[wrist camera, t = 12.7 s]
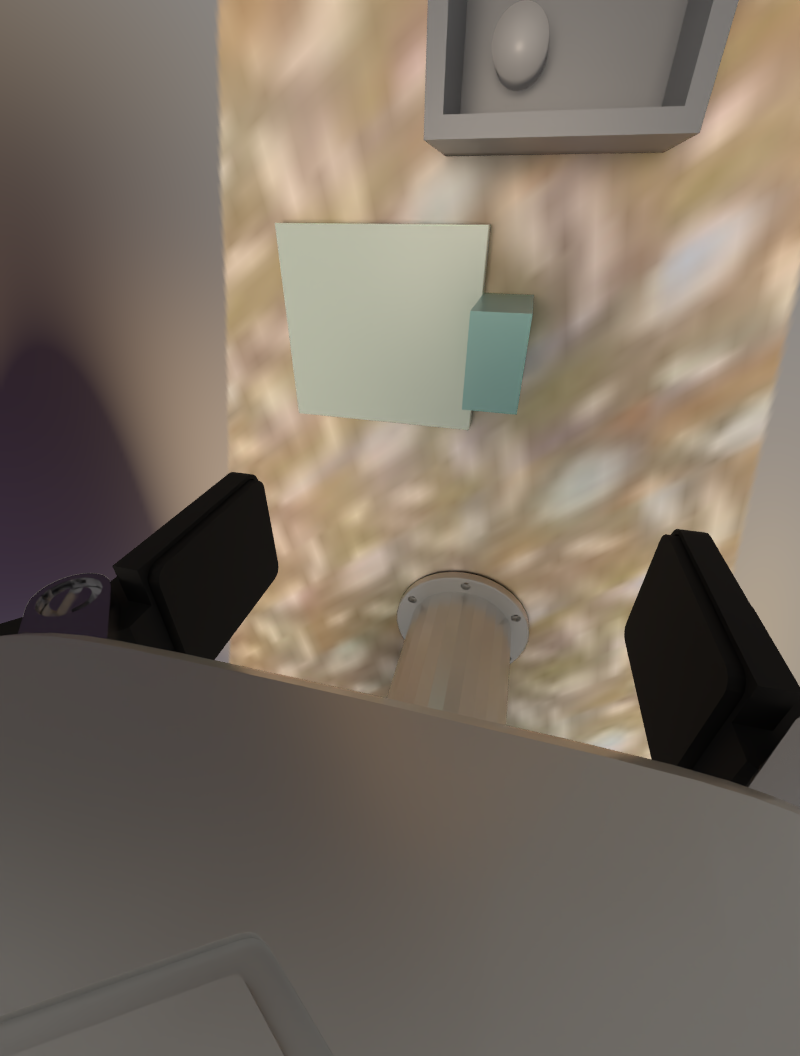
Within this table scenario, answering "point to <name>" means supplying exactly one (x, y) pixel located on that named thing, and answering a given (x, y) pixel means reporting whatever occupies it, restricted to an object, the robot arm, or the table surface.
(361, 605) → the table surface
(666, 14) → the tub
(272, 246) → the table surface
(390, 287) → the board with teal handle
